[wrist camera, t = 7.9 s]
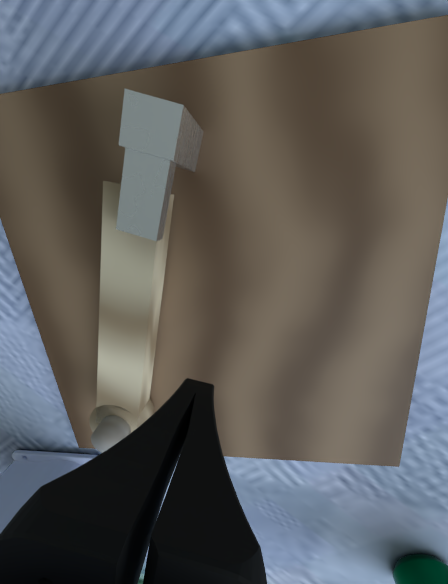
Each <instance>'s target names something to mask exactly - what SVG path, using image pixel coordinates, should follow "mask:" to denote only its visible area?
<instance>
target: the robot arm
mask: <svg viewBox="0 0 448 584" xmlns="http://www.w3.org/2000/svg"><path fill="white" fill-rule="evenodd" d="M179 456H180V457H179ZM12 458H13V460H14V462H13V463H12V464H11V465H10V466H9V467H8V468H7V469H6V470H5V471H4V472H3V473H2V474H1V475H0V584H138V580H139V577H140V573H141V570H142V567H143V563H144V560H145V557H146V553H147V550H148V547H149V550H148V556H147V562H146V569H145V575H144V581H143V584H267V580H266V573H265V567H264V562H263V557H262V552H261V548H260V545H259V543H258V541H257V539H256V537H255V535H254V533H253V531H252V529H251V527H250V525H249V523H248V521H247V519H246V516H245V514H244V512H243V509H242V507H241V505H240V502H239V500H238V497H237V495H236V492H235V489H234V487H233V484H232V481H231V479H230V476H229V473H228V470H227V467H226V464H225V460H224V457H223V453H222V449H221V445H220V441H219V436H218V431H217V425H216V418H215V411H214V385H213V384H210V383H206V382H202V381H198V380H194V379H190V378H187V379H185V380H184V381H183V383H182V384H181V385H180V387H179V388H178V389H177V390H176V391H175V393H174V394H173V395H172V396H171V397H170V398H169V399H168V400H167V401H166V402H165V403H164V404H163V405H162V406H161V407H160V408H159V409H158V410H157V411H156V412H155V413H154V414H153V415H152V416H151V417H150V418H148V419H147V420H146V421H145V422H144V423H143V424H141V425H140V426H139V427H138V428H137V429H135V430H134V431H133V432H131V433H130V434H129V435H128V436H126V437H125V438H123V439H122V440H121V441H119V442H118V443H116V444H115V445H114V446H112V447H111V448H109V449H108V450H106V451H104V452H103V453H101V454H100V455H90V454H74V453H58V452H42V451H27V450H16V451H14V452H13V453H12ZM178 459H179V460H178ZM177 461H178V463H177ZM176 464H177V466H176ZM175 466H176V468H175ZM174 469H175V471H174ZM173 471H174V474H173ZM172 474H173V477H172V480H171V483H170V485H169V488H168V491H167V494H166V497H165V499H164V502H163V505H162V507H161V504H162V501H163V498H164V495H165V492H166V489H167V487H168V484H169V481H170V479H171V476H172ZM160 507H161V510H160ZM159 511H160V513H159ZM158 514H159V515H158ZM157 517H158V518H157ZM156 520H157V521H156ZM149 543H150V544H149Z"/></svg>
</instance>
